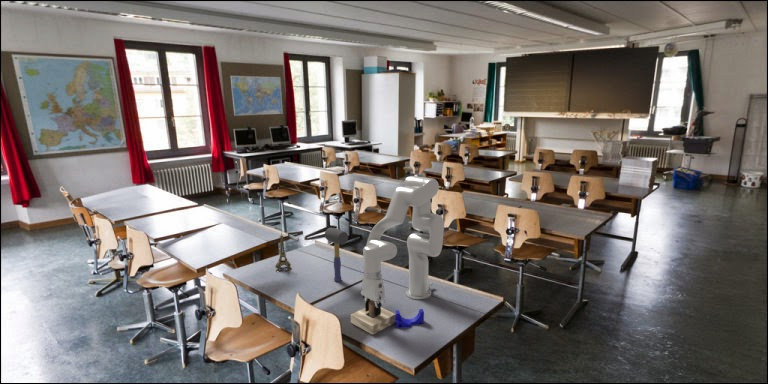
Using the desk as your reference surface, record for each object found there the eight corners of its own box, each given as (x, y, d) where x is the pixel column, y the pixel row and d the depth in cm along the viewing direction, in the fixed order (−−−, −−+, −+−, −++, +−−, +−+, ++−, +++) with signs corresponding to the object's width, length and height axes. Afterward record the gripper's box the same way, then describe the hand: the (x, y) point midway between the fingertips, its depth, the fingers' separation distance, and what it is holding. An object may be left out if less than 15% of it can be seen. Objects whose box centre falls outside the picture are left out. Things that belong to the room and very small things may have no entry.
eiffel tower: (273, 267, 248) (271, 227, 243) (292, 265, 251) (289, 225, 246) (274, 274, 238) (272, 232, 233) (293, 271, 241) (291, 230, 236)
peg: (373, 319, 186) (373, 299, 184) (379, 322, 184) (378, 301, 182) (367, 322, 184) (366, 301, 182) (373, 325, 181) (372, 304, 179)
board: (373, 311, 193) (373, 303, 192) (395, 322, 184) (395, 314, 183) (350, 322, 184) (350, 314, 183) (372, 334, 174) (372, 326, 173)
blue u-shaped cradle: (397, 328, 179) (397, 315, 178) (395, 322, 184) (395, 310, 182) (424, 326, 180) (424, 313, 179) (422, 321, 185) (422, 308, 184)
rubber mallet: (350, 283, 224) (349, 229, 218) (339, 287, 219) (338, 233, 213) (335, 277, 233) (334, 225, 227) (325, 281, 228) (323, 228, 221)
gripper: (392, 276, 176) (393, 316, 179) (365, 266, 187) (366, 303, 191) (380, 282, 170) (380, 322, 174) (352, 270, 182) (353, 309, 186)
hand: (373, 312), depth 183 cm, fingers open, 5 cm apart
